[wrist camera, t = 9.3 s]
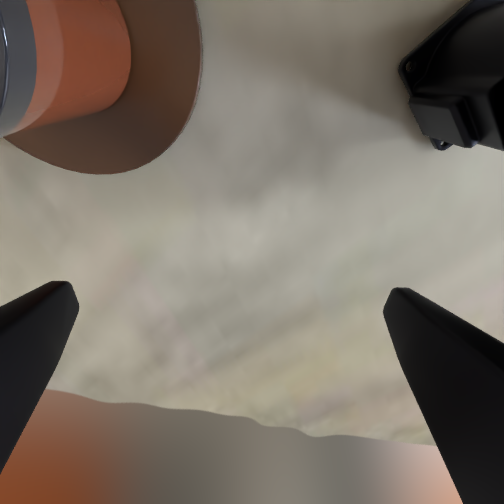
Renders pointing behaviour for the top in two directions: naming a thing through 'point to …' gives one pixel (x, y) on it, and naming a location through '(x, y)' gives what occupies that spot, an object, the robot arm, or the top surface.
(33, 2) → the orange mug
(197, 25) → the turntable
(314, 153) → the top surface
